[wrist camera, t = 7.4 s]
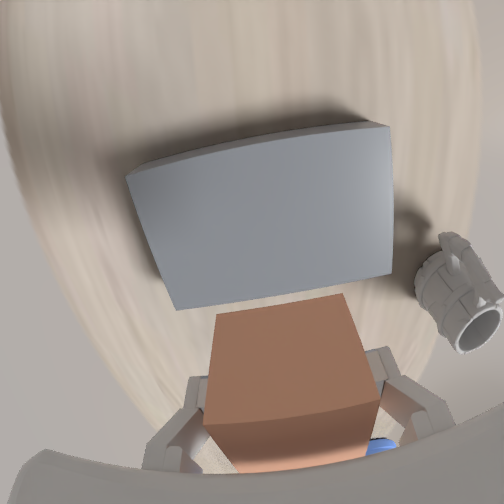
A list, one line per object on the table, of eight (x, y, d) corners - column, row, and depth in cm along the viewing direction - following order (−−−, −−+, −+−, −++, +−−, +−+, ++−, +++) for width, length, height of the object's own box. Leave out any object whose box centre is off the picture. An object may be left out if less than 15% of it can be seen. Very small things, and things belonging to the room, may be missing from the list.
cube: (216, 313, 12) (202, 424, 7) (342, 293, 11) (380, 399, 7) (243, 386, 14) (241, 476, 10) (342, 371, 14) (364, 458, 9)
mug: (412, 310, 33) (453, 385, 23) (404, 228, 28) (467, 302, 17) (461, 288, 32) (509, 353, 21) (461, 205, 26) (533, 264, 16)
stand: (141, 164, 24) (124, 176, 21) (370, 120, 23) (389, 126, 19) (183, 285, 31) (176, 310, 27) (376, 251, 29) (391, 273, 25)
